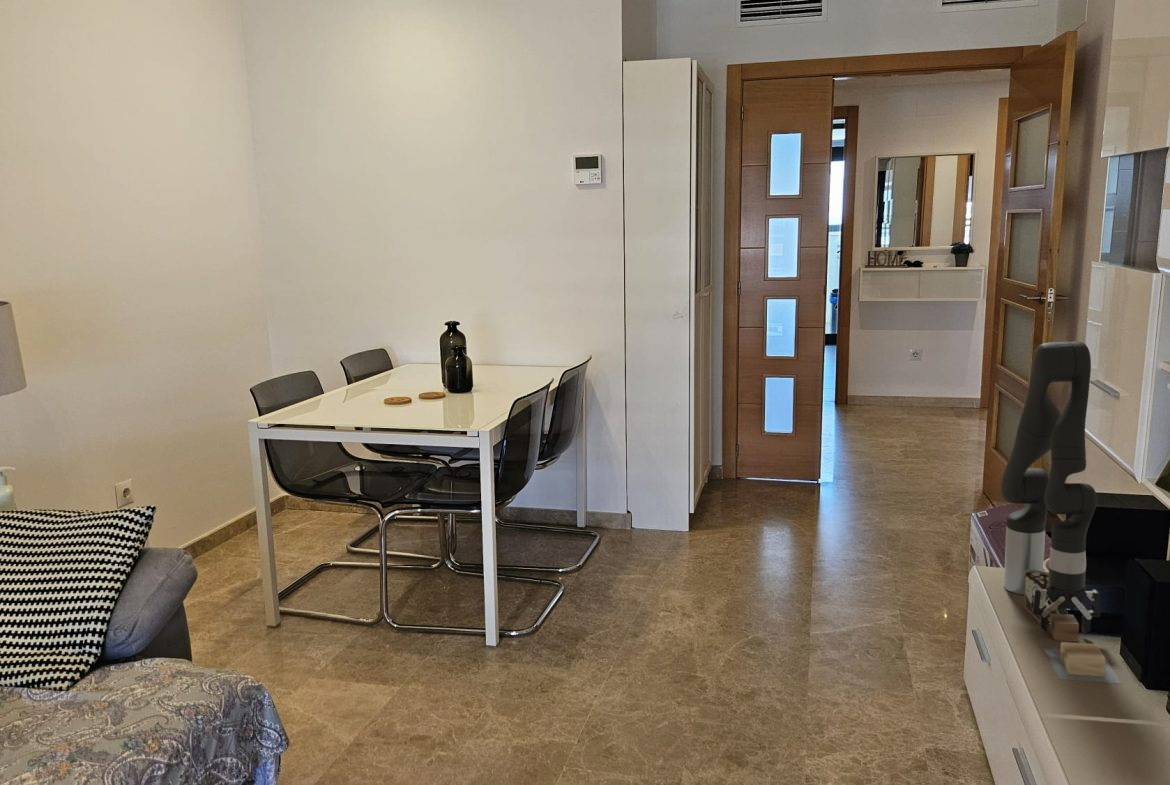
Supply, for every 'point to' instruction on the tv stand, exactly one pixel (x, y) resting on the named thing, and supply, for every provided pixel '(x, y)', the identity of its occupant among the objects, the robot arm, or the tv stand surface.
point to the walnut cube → (1064, 627)
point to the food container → (1041, 581)
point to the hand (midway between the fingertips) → (1064, 631)
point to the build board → (1063, 674)
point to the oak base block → (1082, 659)
